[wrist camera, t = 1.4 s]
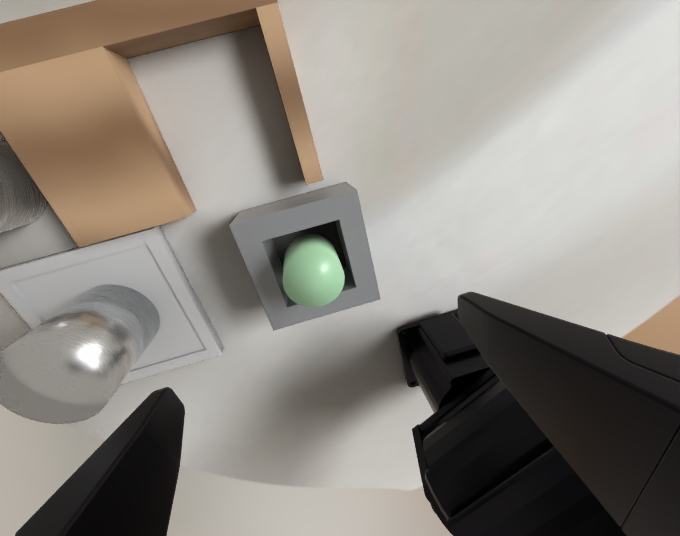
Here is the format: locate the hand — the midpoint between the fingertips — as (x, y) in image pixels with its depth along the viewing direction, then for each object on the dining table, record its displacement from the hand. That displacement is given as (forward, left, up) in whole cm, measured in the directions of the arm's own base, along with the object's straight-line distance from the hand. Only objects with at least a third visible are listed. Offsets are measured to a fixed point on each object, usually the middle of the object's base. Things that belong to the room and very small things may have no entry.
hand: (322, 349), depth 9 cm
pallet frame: (+8, +9, -12) cm, 17 cm away
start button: (-1, 0, -9) cm, 9 cm away
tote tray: (-2, +14, -12) cm, 18 cm away
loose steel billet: (-2, +14, -11) cm, 18 cm away
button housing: (-1, 0, -12) cm, 12 cm away
